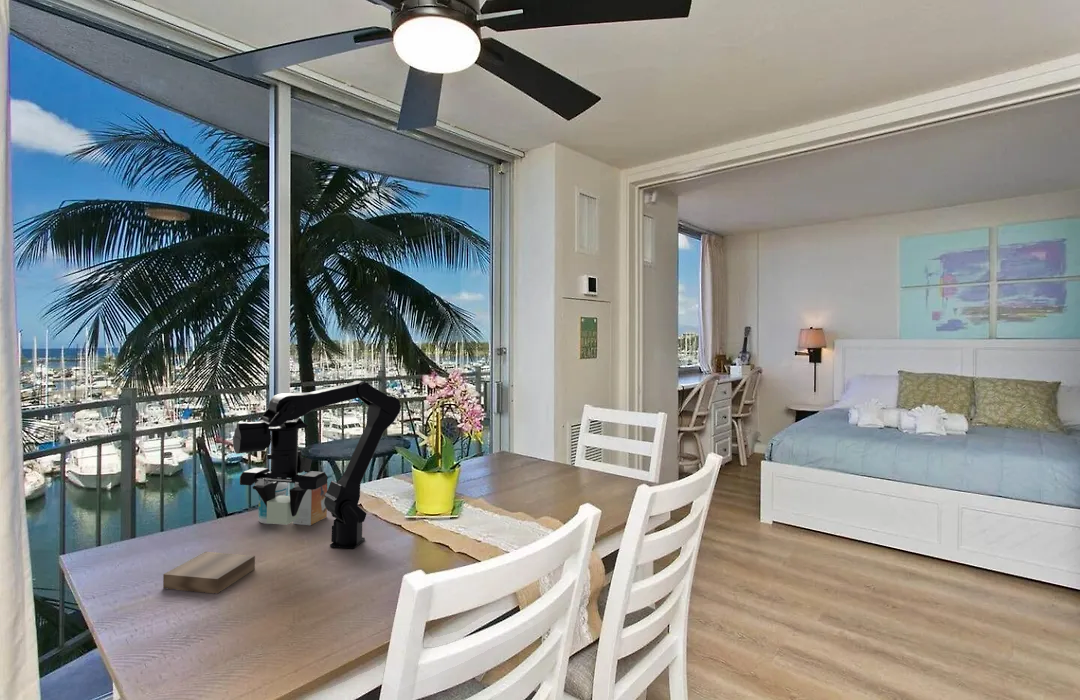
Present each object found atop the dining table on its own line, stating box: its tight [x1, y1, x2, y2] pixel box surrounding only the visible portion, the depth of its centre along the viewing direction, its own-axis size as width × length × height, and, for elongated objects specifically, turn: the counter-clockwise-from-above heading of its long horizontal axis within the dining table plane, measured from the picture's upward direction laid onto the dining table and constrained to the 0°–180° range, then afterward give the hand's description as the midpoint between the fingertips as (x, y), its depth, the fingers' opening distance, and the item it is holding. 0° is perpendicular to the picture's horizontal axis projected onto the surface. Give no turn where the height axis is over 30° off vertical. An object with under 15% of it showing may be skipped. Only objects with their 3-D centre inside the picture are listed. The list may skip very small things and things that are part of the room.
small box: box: [292, 483, 328, 526], centre depth 157 cm, size 8×6×10 cm
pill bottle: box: [257, 470, 289, 525], centre depth 156 cm, size 8×7×14 cm
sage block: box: [267, 495, 299, 526], centre depth 130 cm, size 5×5×5 cm
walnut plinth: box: [162, 551, 256, 594], centre depth 119 cm, size 12×12×3 cm
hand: (283, 515), depth 130 cm, fingers closed on sage block, 5 cm apart
